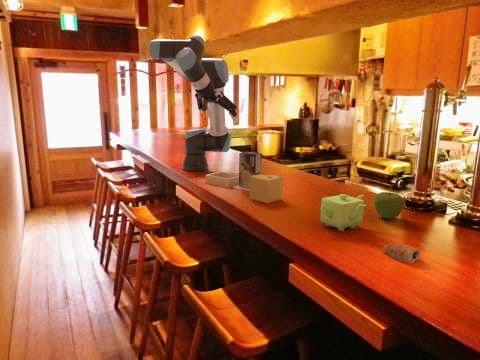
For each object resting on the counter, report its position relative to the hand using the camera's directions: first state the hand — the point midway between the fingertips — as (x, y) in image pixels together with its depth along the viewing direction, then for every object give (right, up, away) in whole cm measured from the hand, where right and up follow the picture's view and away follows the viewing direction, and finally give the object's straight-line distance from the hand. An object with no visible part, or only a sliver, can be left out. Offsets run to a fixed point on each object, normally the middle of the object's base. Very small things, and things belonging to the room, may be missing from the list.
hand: (224, 120), depth 170 cm
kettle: (+42, -43, -40) cm, 72 cm away
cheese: (+18, -35, -8) cm, 40 cm away
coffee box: (+11, -30, +11) cm, 34 cm away
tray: (-1, -28, +19) cm, 34 cm away
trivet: (+11, -30, +11) cm, 34 cm away
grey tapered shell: (+52, -48, -64) cm, 95 cm away
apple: (+61, -41, -30) cm, 79 cm away
